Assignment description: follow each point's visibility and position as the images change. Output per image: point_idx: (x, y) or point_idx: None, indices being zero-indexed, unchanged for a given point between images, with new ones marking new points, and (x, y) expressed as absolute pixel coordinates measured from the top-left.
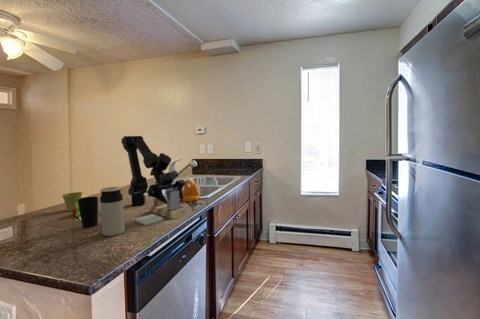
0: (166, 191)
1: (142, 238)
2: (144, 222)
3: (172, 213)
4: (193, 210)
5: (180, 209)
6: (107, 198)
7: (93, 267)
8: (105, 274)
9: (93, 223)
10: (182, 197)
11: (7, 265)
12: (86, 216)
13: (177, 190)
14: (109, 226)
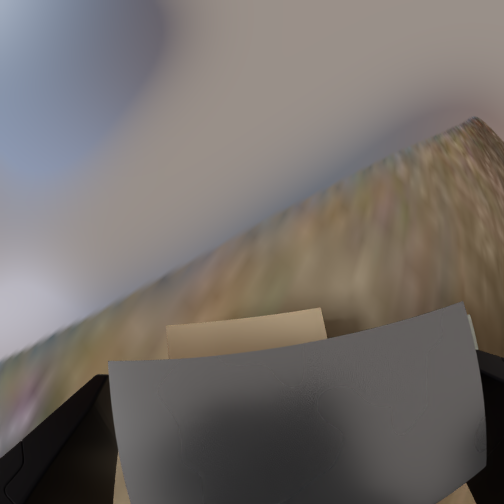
0: (485, 458)
1: (457, 182)
2: (471, 322)
3: (315, 311)
4: (60, 389)
5: (206, 344)
6: None
7: (497, 147)
8: (473, 119)
9: None
10: (98, 383)
11: None
12: None
13: (157, 388)
14: None
